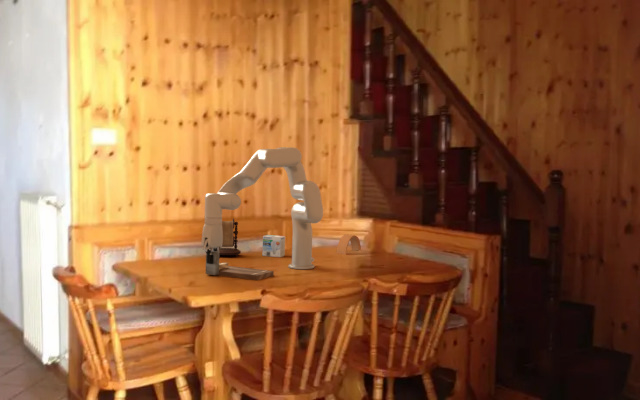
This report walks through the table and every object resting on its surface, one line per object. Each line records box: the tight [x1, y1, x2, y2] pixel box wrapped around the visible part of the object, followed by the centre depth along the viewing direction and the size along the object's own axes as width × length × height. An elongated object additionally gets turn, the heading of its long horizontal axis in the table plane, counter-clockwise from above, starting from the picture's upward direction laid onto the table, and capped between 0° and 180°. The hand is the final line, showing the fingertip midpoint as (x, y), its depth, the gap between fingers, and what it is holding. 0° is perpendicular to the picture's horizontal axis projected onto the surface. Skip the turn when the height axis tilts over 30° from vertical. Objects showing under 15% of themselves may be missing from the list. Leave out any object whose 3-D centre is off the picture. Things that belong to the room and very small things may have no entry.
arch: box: [336, 234, 362, 255], centre depth 379 cm, size 6×20×10 cm, turn 151°
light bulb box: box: [262, 234, 286, 258], centre depth 357 cm, size 11×7×11 cm, turn 73°
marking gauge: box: [205, 251, 229, 276], centre depth 297 cm, size 12×5×10 cm, turn 154°
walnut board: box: [209, 265, 275, 281], centre depth 297 cm, size 14×26×2 cm, turn 64°
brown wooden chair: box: [219, 217, 242, 258], centre depth 352 cm, size 15×15×20 cm
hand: (212, 262), depth 293 cm, fingers closed on marking gauge, 3 cm apart
